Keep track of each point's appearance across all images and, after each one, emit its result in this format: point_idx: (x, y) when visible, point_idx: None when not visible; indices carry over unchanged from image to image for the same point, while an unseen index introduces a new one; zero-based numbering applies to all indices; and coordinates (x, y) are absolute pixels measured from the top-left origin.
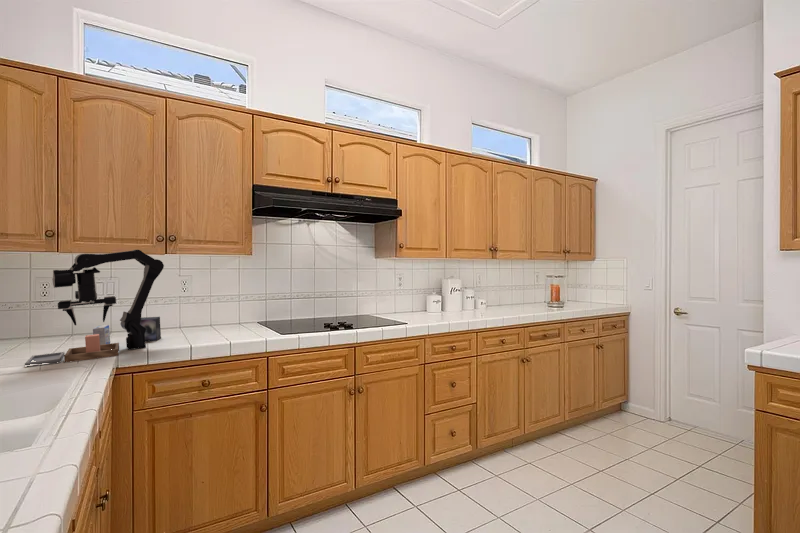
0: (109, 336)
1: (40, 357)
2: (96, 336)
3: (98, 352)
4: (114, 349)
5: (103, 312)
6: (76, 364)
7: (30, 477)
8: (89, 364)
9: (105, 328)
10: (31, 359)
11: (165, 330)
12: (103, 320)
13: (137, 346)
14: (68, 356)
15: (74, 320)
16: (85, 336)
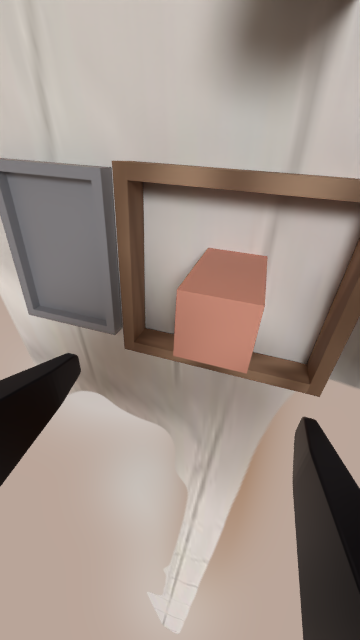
0: None
1: (24, 176)
2: (234, 367)
3: (239, 374)
4: (305, 391)
5: (304, 611)
6: (172, 389)
7: (164, 613)
8: (206, 419)
9: None
10: (18, 248)
11: None
12: (298, 457)
13: None
14: (139, 348)
15: (44, 418)
16: (174, 335)
